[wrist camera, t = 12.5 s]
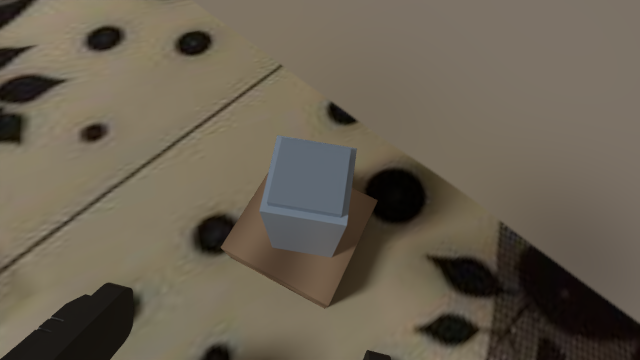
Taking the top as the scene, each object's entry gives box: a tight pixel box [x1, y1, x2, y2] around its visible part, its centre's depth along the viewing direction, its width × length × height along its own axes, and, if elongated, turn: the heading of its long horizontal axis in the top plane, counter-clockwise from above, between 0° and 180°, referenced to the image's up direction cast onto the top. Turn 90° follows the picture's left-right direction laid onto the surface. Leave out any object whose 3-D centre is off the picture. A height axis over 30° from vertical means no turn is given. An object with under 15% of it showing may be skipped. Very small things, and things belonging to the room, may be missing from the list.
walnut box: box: [221, 172, 378, 309], centre depth 32 cm, size 10×10×5 cm
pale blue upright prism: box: [259, 135, 357, 258], centre depth 24 cm, size 5×5×11 cm
